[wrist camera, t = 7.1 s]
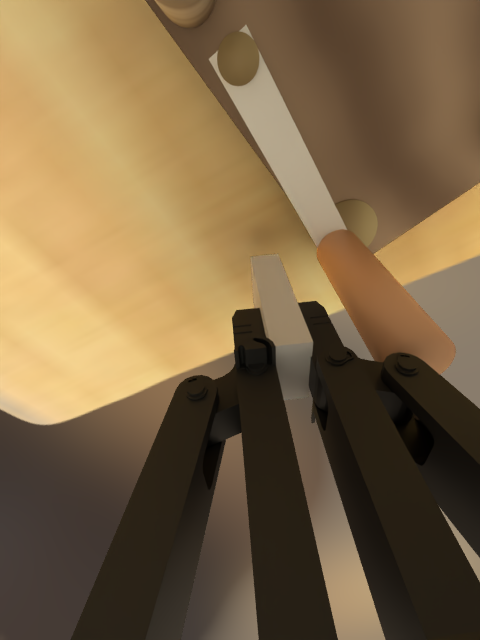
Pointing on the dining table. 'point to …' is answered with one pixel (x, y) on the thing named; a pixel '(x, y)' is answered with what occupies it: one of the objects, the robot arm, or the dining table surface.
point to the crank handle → (337, 233)
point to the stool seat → (356, 93)
